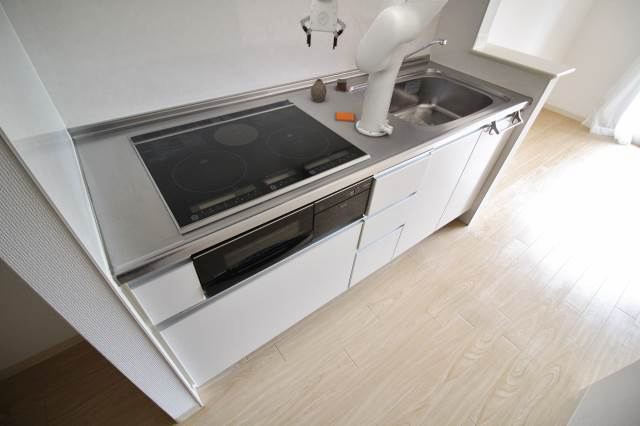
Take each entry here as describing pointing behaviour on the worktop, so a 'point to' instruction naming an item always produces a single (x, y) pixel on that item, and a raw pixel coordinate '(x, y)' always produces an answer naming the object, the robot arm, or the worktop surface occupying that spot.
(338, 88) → the walnut block
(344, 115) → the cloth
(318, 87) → the vase
